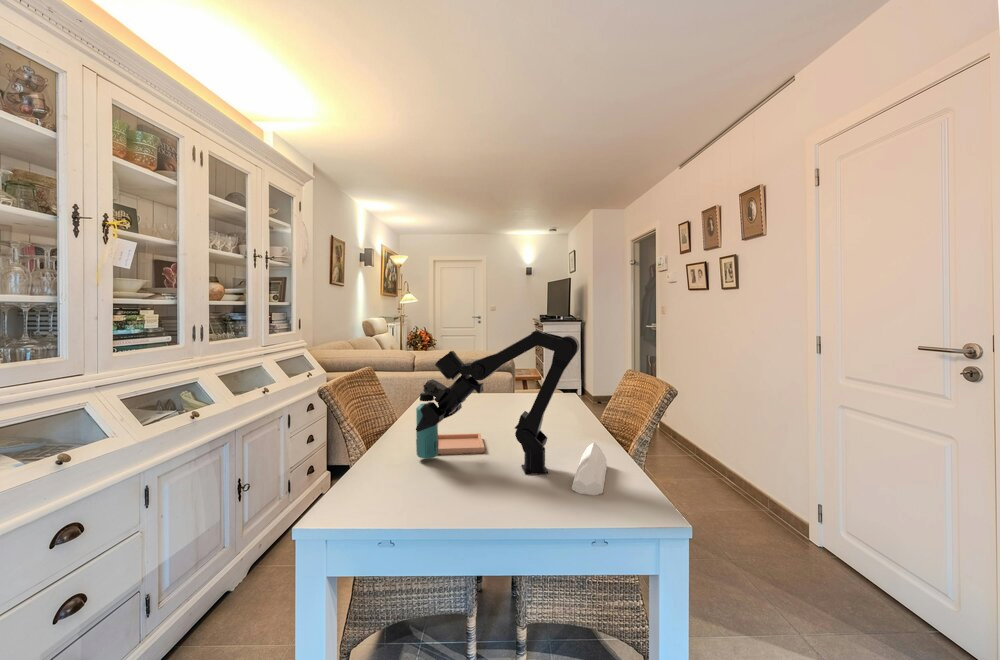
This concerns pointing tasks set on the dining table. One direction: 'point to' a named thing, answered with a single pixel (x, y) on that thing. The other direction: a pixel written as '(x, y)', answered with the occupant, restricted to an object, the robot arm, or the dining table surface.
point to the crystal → (590, 472)
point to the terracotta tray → (460, 443)
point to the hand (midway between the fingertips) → (423, 426)
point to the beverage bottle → (426, 433)
